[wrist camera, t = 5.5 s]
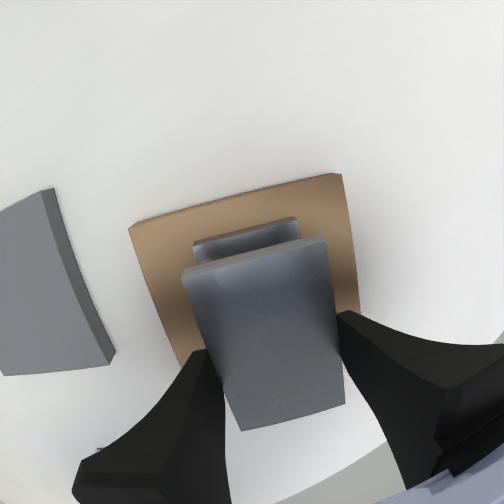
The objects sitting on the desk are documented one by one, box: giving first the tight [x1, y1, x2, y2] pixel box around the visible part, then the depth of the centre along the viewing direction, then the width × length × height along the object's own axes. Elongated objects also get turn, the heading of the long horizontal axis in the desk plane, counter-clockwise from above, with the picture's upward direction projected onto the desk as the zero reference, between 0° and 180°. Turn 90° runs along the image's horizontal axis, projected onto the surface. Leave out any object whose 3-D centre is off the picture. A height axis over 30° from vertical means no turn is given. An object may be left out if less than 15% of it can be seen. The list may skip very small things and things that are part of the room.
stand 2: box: [128, 173, 361, 368], centre depth 17 cm, size 11×11×2 cm
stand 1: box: [0, 188, 115, 376], centre depth 15 cm, size 11×11×2 cm
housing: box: [181, 216, 345, 431], centre depth 14 cm, size 8×5×5 cm, turn 13°
